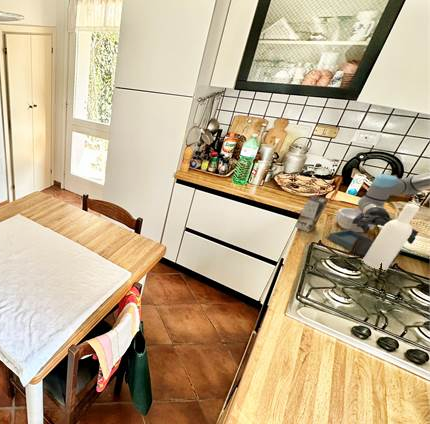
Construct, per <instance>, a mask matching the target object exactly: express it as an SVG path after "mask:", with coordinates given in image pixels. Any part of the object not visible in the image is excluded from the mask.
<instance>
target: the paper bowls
mask: <svg viewBox="0 0 430 424" xmlns="http://www.w3.org/2000/svg"><path fill="white" fill-rule="evenodd" d="M360 213H362V211H361V210H360V209H357V208H352V207H351V208H350V207H342V208H340V209H338V211H337V213H336V215H335V216H334V219H335V221H336V222H338V223H337V224H338V225H339V227H341V228H342V229H344V230H349V229H350V230H352V231H355V232H357V233H364V231H363V229H362V228H360V227H357V224H352V222H353V220H354V218H355V217H357V216H359V214H360ZM364 219H366V218H364ZM361 220H362V219H361ZM368 225H369V227H370V229H369V231H372V230H374V229H375V227H376V225H373V224H371V225H370V224H368Z"/></svg>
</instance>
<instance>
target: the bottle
mask: <svg viewBox="0 0 430 424" xmlns="http://www.w3.org/2000/svg"><path fill="white" fill-rule="evenodd" d="M419 211H420V206H419V205H417V204H414V203H405V205H404V206H403V208H402V210H401V212H400V213H399V214H398V216H397V218H395V219H391V221H389V222H387V223H386V224H385V225H384V226H382V228H381V229H380V231H379V233H378V235H377V236H376V238H375V239H374V242H373V244H372V246H371V247H370V249H369V250H368V252H367V254H366V255H365V257H364V258H363V261H364V263H365V264H366V265H368V266H370V267H372V268H375V269H379V268H380V264H381V263H382V269H383V270H386V271H388V269H389V265H390V264H391V263H392V264H393V262H392V261H393V260H394V258H395V257H396V255H397V254H398V252H399V251H400V250H401V251H402V249H401V248H403V247H404V245H405V244H406V242H408V241H407V239H408V238H409V237H410V235H411V233H412V228H413V226H412V225H411V222H412V220H413V219H414V217H415V216H416V214H417V213H418V212H419ZM392 264H391V265H392Z"/></svg>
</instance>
